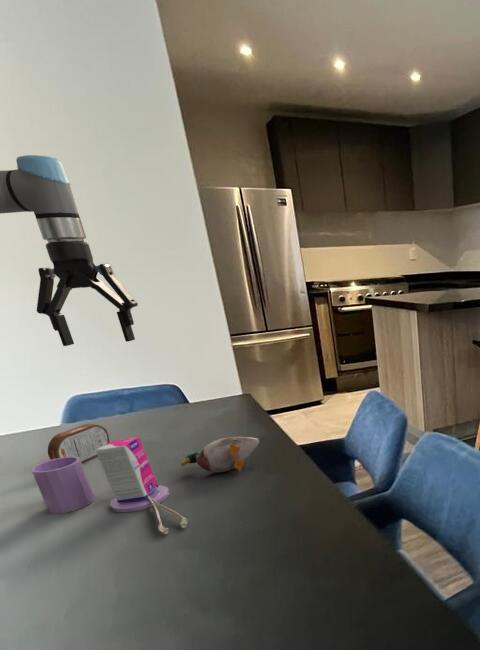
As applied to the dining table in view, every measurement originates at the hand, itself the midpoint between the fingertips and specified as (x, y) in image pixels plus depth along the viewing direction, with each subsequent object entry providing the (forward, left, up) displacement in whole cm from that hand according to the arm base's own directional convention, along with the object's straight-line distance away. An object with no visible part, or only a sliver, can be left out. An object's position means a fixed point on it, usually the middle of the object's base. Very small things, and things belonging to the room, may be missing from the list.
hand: (99, 343), depth 112 cm
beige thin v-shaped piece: (+7, -38, -28) cm, 48 cm away
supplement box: (+3, -28, -28) cm, 39 cm away
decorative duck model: (+20, -19, -29) cm, 40 cm away
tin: (-12, +7, -29) cm, 32 cm away
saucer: (+3, -28, -29) cm, 40 cm away
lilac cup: (-10, -22, -29) cm, 38 cm away
